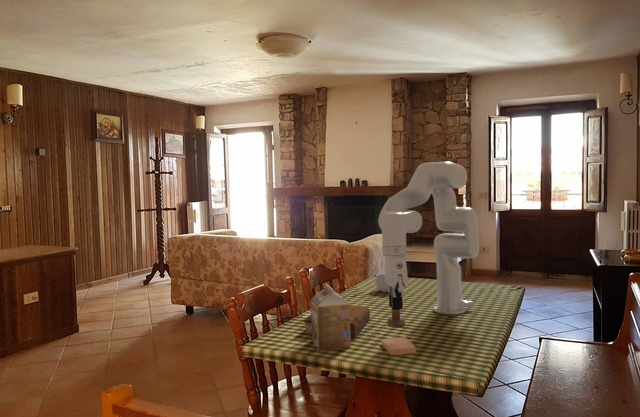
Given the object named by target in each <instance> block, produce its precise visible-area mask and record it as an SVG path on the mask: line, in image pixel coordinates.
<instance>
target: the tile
mask: <svg viewBox="0 0 640 417" xmlns="http://www.w3.org/2000/svg"><path fill="white" fill-rule="evenodd" d="M381 345H382V347H383V348H384V349H385V350H386V352H387V353H388V354H389V355H390V356H394V355H395V356H396V355H398V356H399V355H407V354H408V355H409V354H416V353H417V348H416V346H415V345H414V344H412V342H411V341H410V340H409V339H408V338H407V337H406V336H405V337H395V338H394V337H393V338H382V339H381Z"/></svg>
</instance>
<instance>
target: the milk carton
mask: <svg viewBox="0 0 640 417" xmlns="http://www.w3.org/2000/svg"><path fill="white" fill-rule="evenodd" d="M324 286H325V288H323V289H321V290H320V291H318V292H317V293H315V294H314V295H313V296H312V297H311V298H310V309H311V310H310V312H311V313H310V315H311V322H312V335H311V341H312V343H313V344H314V346H315V348H316V349H317V351H319V352H320V351H330V350H341V349H350V348H351V347H352V346H351V340H352V338H350V306H351V305H350V303H349V302H348V301H347V300H346V299H344V298H343V297H342V296H341V295H340V294H339V293H337V291H335V290H334V288H332V287H331V286H330V285H329V284H327V283H325V285H324Z"/></svg>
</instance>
